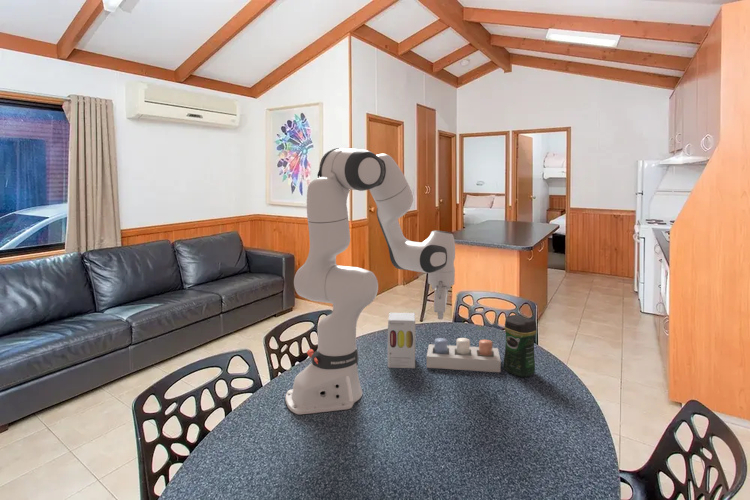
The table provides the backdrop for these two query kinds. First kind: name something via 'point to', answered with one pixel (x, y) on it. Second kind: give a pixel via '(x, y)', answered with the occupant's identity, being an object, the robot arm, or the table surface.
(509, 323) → the coffee jar
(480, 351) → the terracotta key
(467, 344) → the ivory key
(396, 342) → the supplement box
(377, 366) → the table surface
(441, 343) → the slate blue key
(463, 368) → the white boxy piece
